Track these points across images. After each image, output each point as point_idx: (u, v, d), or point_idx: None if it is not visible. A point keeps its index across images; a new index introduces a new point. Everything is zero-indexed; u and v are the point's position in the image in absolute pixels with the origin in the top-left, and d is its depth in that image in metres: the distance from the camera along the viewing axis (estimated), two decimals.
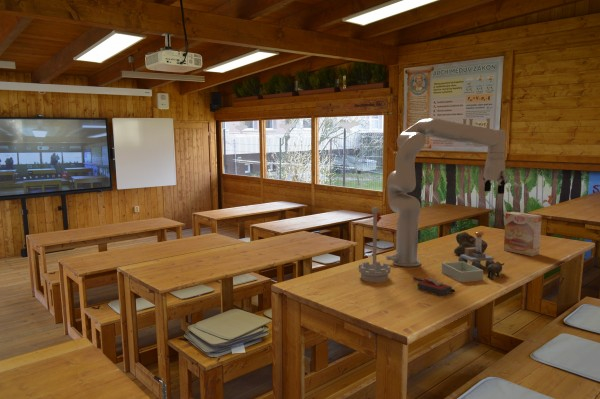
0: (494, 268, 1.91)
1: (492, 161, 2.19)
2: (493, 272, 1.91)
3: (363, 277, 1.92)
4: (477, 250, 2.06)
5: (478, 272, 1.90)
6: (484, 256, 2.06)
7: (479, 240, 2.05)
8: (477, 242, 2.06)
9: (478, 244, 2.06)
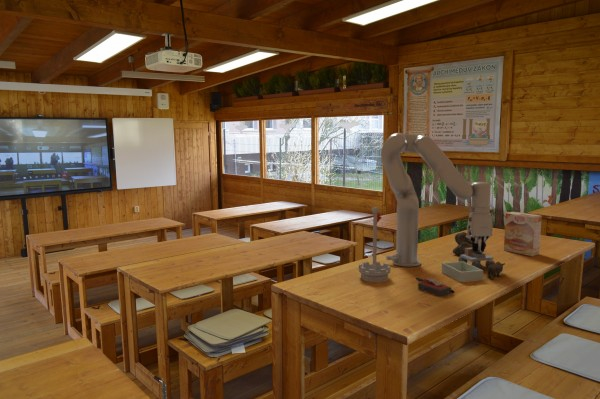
0: (494, 268, 1.91)
1: (486, 216, 2.03)
2: (493, 272, 1.91)
3: (363, 277, 1.92)
4: None
5: (478, 272, 1.90)
6: (484, 256, 2.06)
7: (479, 240, 2.05)
8: (477, 242, 2.06)
9: (478, 244, 2.06)
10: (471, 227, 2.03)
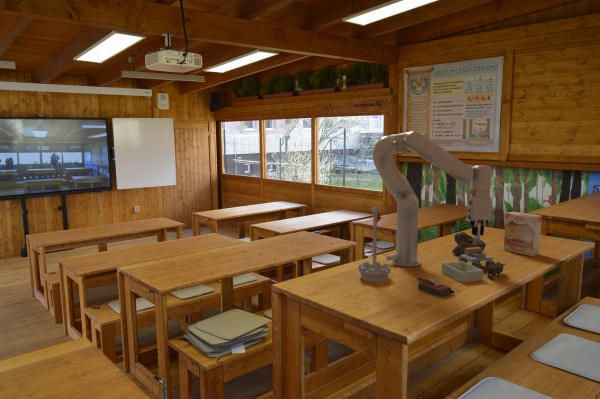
0: (494, 268, 1.91)
1: (486, 199, 2.02)
2: (493, 272, 1.91)
3: (363, 277, 1.92)
4: None
5: (478, 272, 1.90)
6: (484, 256, 2.06)
7: (478, 224, 2.05)
8: None
9: None
10: (471, 210, 2.02)
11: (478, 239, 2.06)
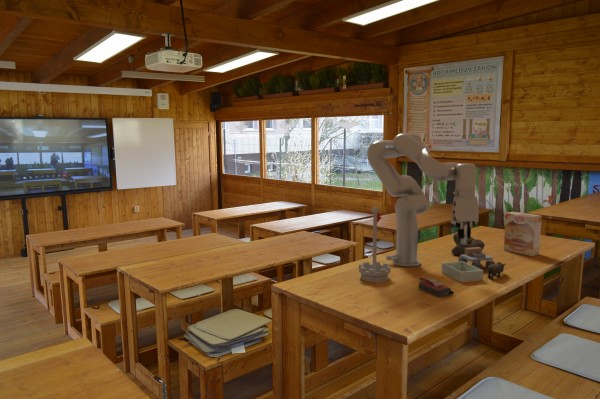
0: (494, 268, 1.91)
1: (471, 199, 1.89)
2: (493, 272, 1.91)
3: (363, 277, 1.92)
4: None
5: (478, 272, 1.90)
6: (484, 256, 2.06)
7: (465, 226, 1.92)
8: (463, 228, 1.92)
9: (464, 230, 1.92)
10: (456, 212, 1.89)
11: (465, 242, 1.93)
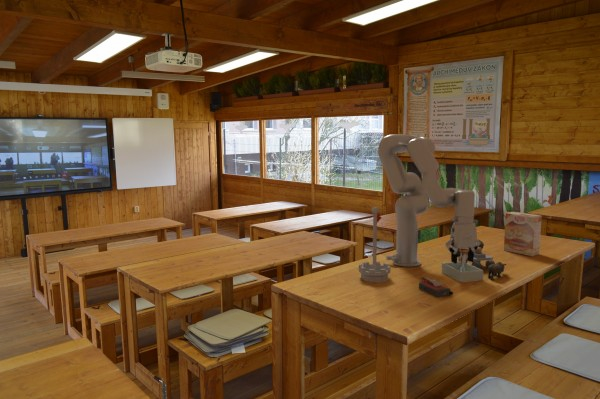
0: (494, 268, 1.91)
1: (470, 226, 1.91)
2: (493, 272, 1.91)
3: (363, 277, 1.92)
4: (461, 268, 1.95)
5: (478, 272, 1.90)
6: (484, 256, 2.06)
7: (464, 257, 1.94)
8: (461, 259, 1.94)
9: (462, 261, 1.94)
10: (454, 238, 1.91)
11: None
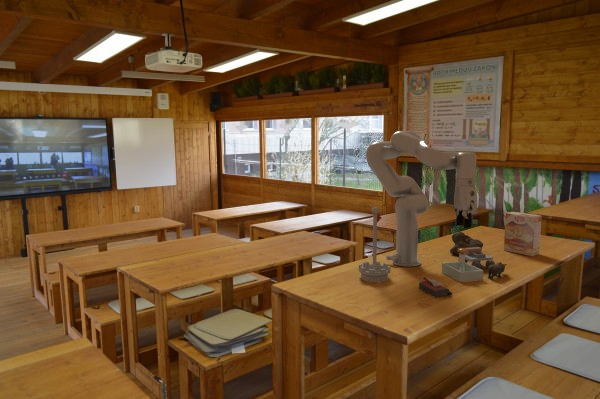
0: (494, 268, 1.91)
1: None
2: (493, 272, 1.90)
3: (363, 277, 1.92)
4: (460, 268, 1.95)
5: (478, 272, 1.90)
6: (484, 256, 2.06)
7: (462, 257, 1.94)
8: (460, 259, 1.94)
9: (461, 262, 1.94)
10: (475, 201, 1.87)
11: None
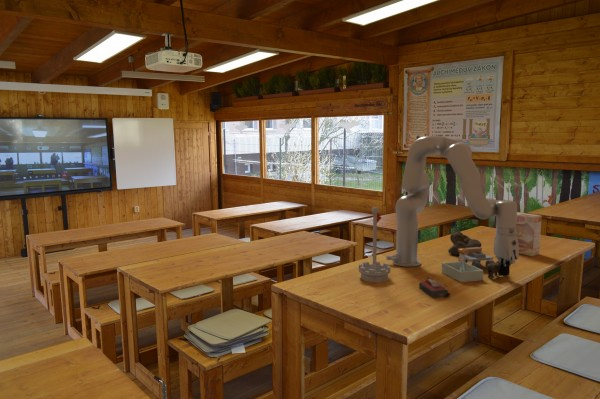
0: (493, 266, 1.91)
1: None
2: (492, 270, 1.91)
3: (363, 277, 1.92)
4: (460, 268, 1.95)
5: (478, 272, 1.90)
6: (484, 256, 2.06)
7: (463, 257, 1.94)
8: (461, 259, 1.94)
9: (462, 262, 1.94)
10: (517, 250, 1.86)
11: None
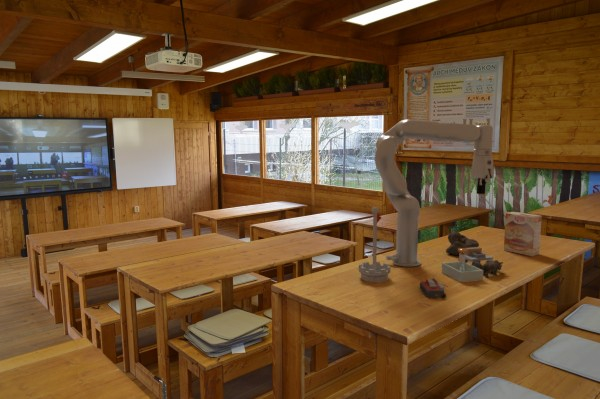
0: (489, 266, 1.94)
1: None
2: (488, 270, 1.94)
3: (363, 277, 1.92)
4: (460, 268, 1.95)
5: (478, 272, 1.90)
6: (484, 256, 2.06)
7: (463, 257, 1.94)
8: (460, 260, 1.94)
9: (462, 262, 1.94)
10: (492, 169, 2.06)
11: None
